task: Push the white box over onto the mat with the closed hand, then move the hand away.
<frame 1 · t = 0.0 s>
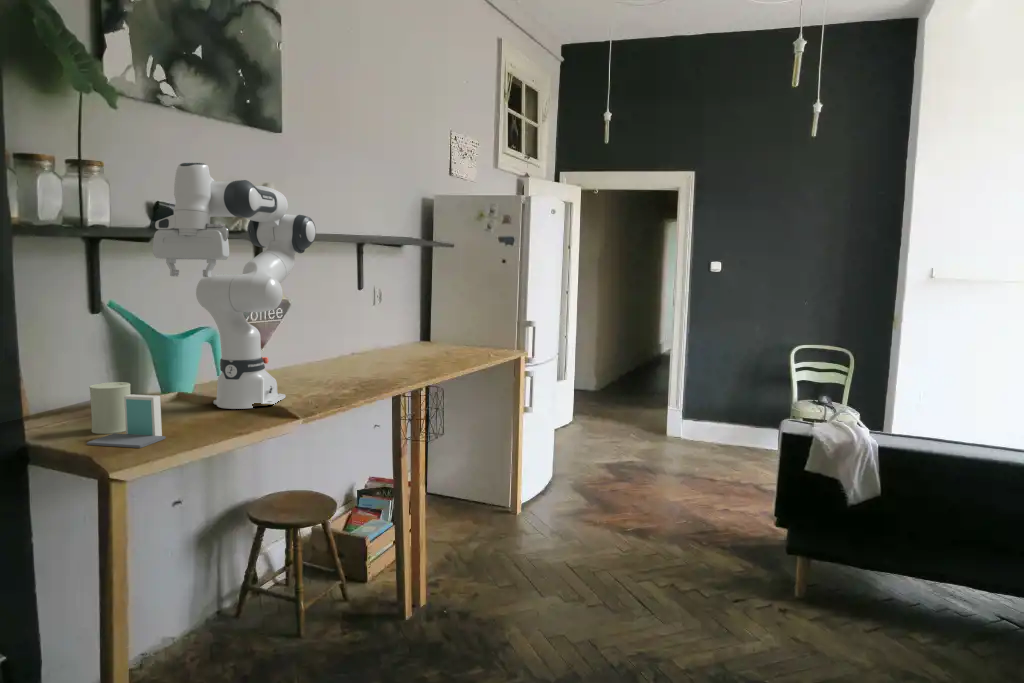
hand: (190, 276, 190), 39 cm above the table, tool pointing down, fingers open, 8 cm apart
mat: (127, 441, 172), on the table
white box: (144, 435, 178), on the table
pale green cylinder: (112, 430, 184), on the table
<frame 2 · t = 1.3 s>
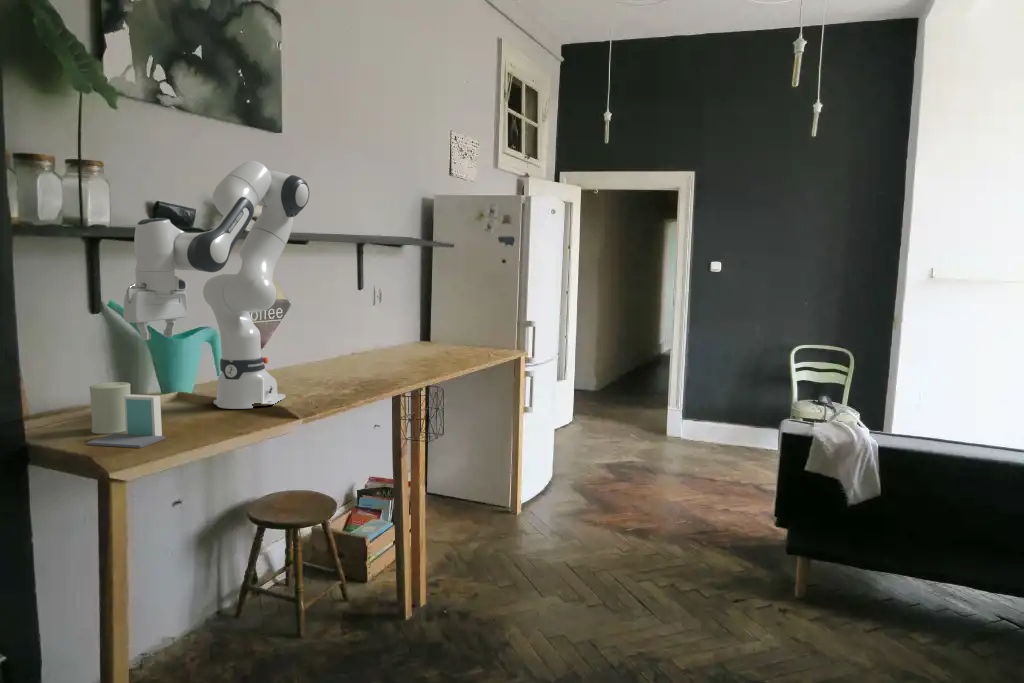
hand: (157, 338, 182), 23 cm above the table, tool pointing down, fingers open, 7 cm apart
nothing on the table moved.
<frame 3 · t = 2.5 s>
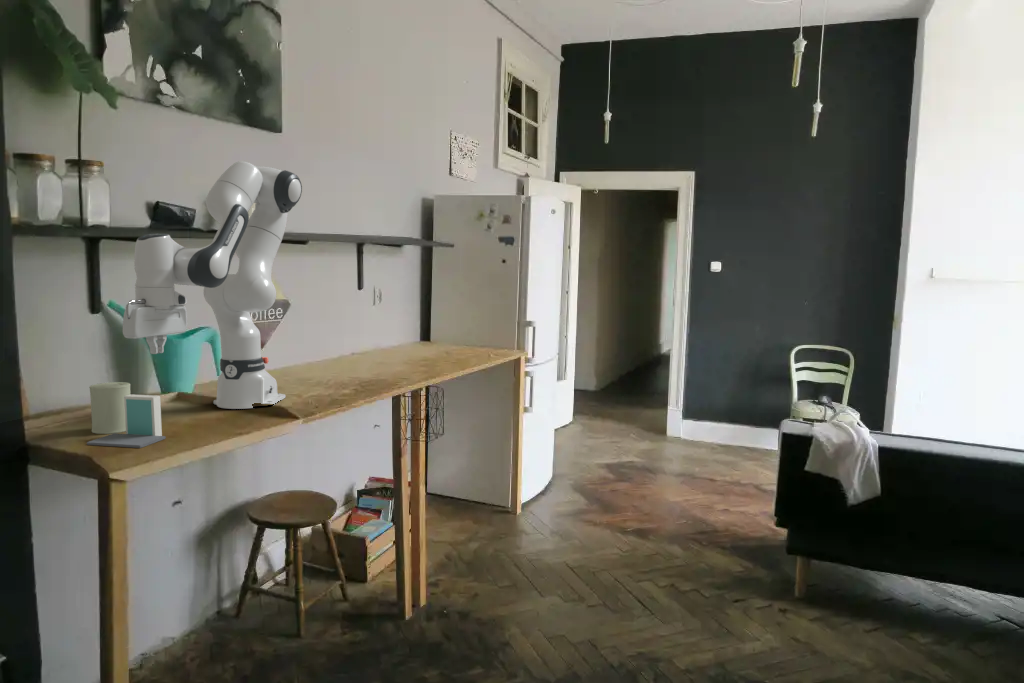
hand: (156, 353, 182), 20 cm above the table, tool pointing down, fingers closed
nothing on the table moved.
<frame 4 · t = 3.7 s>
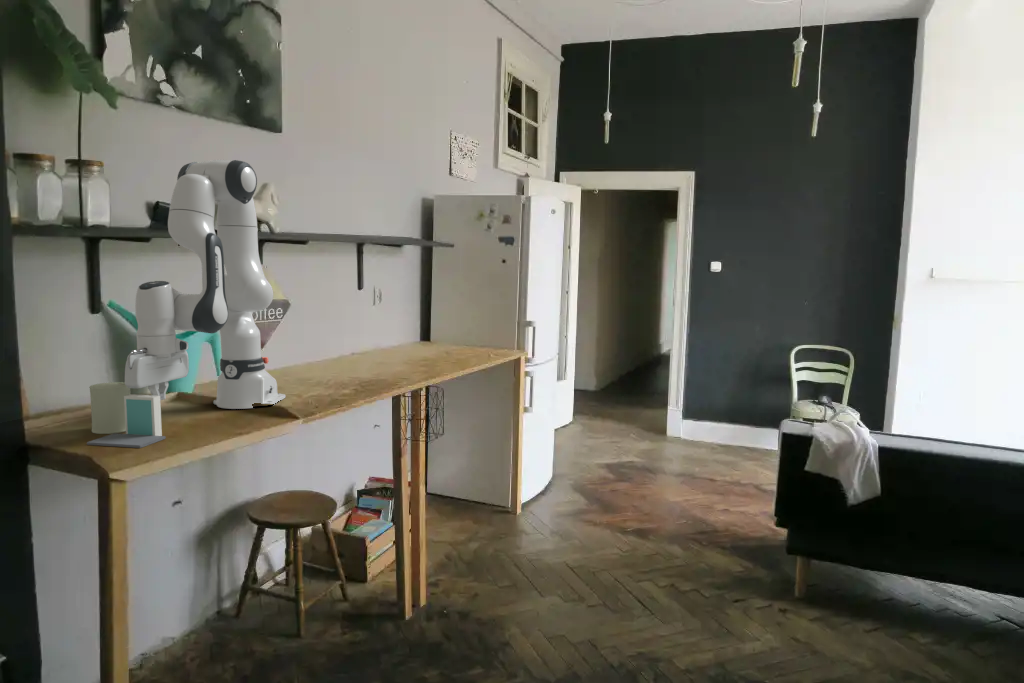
hand: (159, 400, 183), 8 cm above the table, tool pointing down, fingers closed
nothing on the table moved.
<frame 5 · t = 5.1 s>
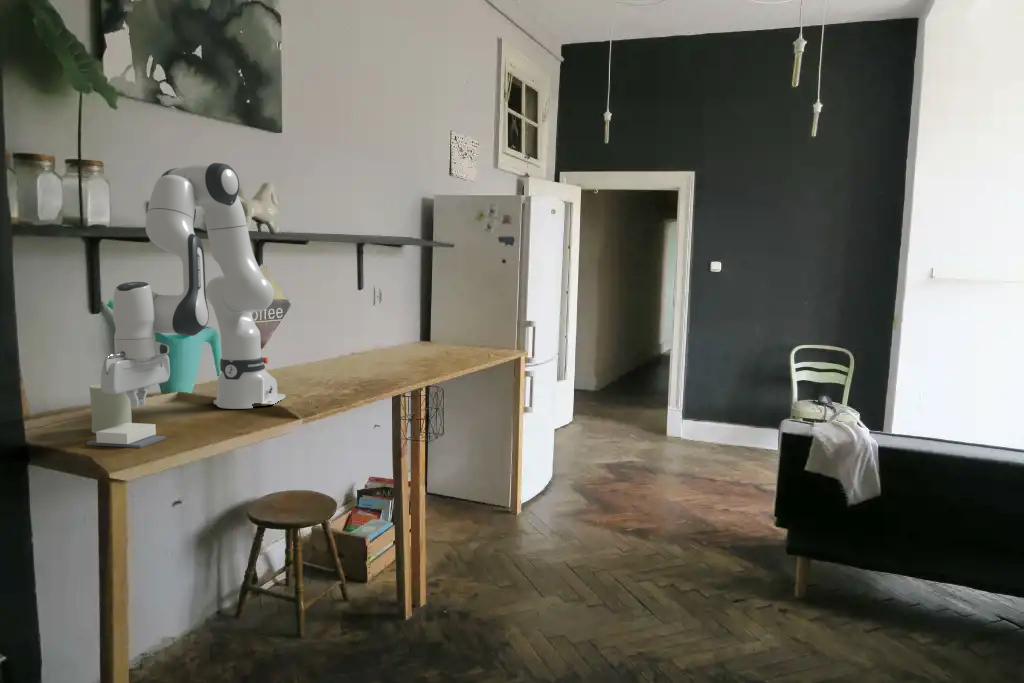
hand: (138, 406, 176), 8 cm above the table, tool pointing down, fingers closed
white box: (141, 428, 177), point 2 cm above the table, tilted 90°, touching mat
everything else where it was.
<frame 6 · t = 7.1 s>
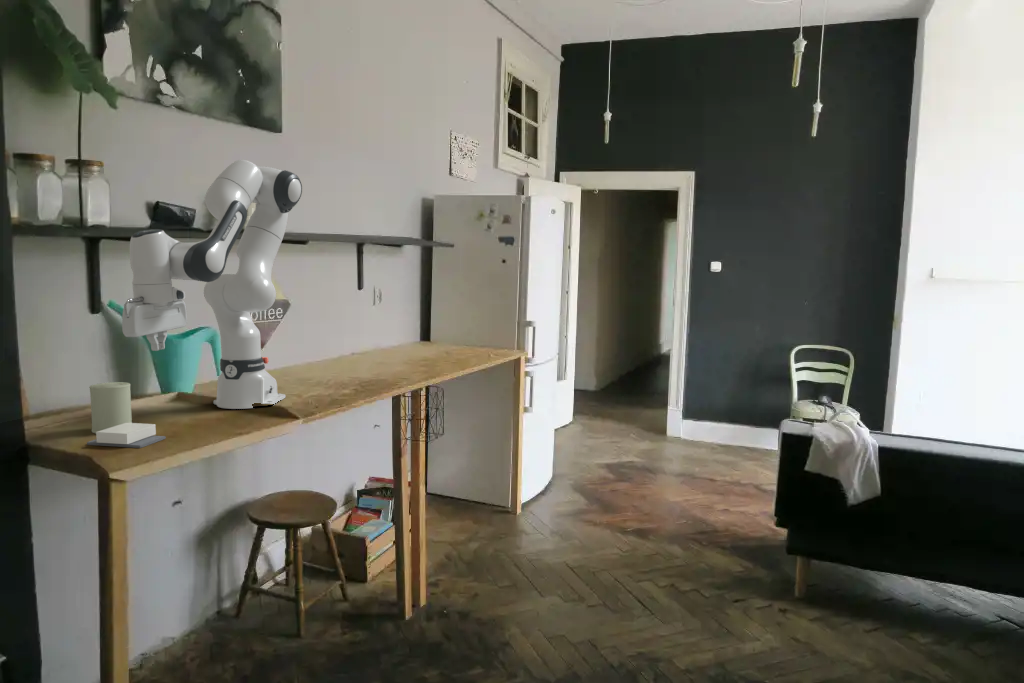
hand: (158, 349, 183), 21 cm above the table, tool pointing down, fingers closed
nothing on the table moved.
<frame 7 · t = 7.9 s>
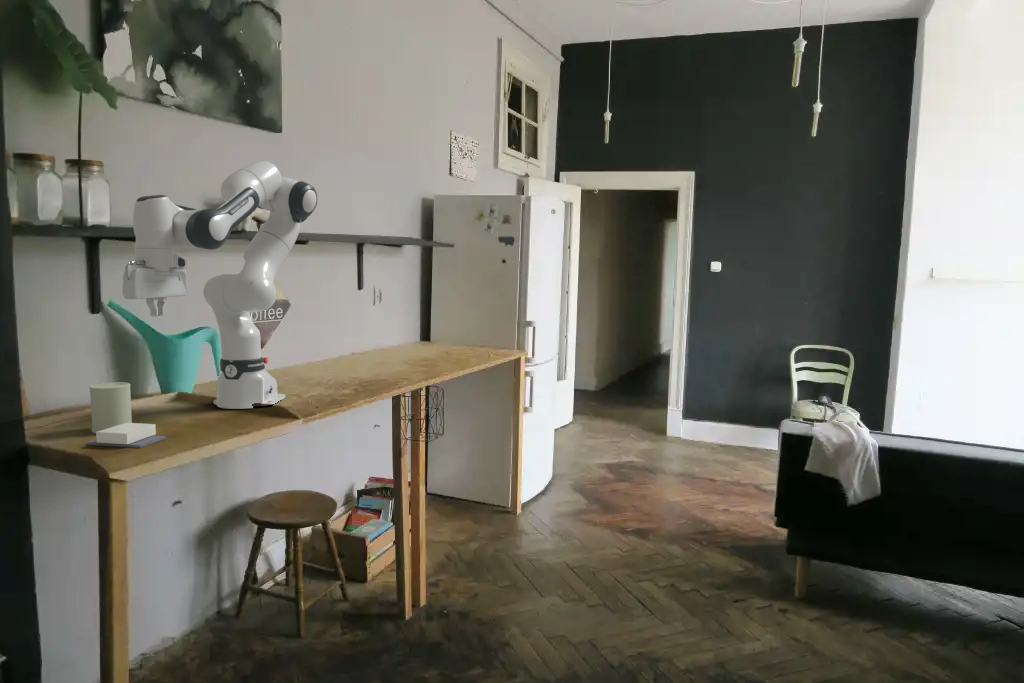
hand: (157, 315, 182), 29 cm above the table, tool pointing down, fingers closed
nothing on the table moved.
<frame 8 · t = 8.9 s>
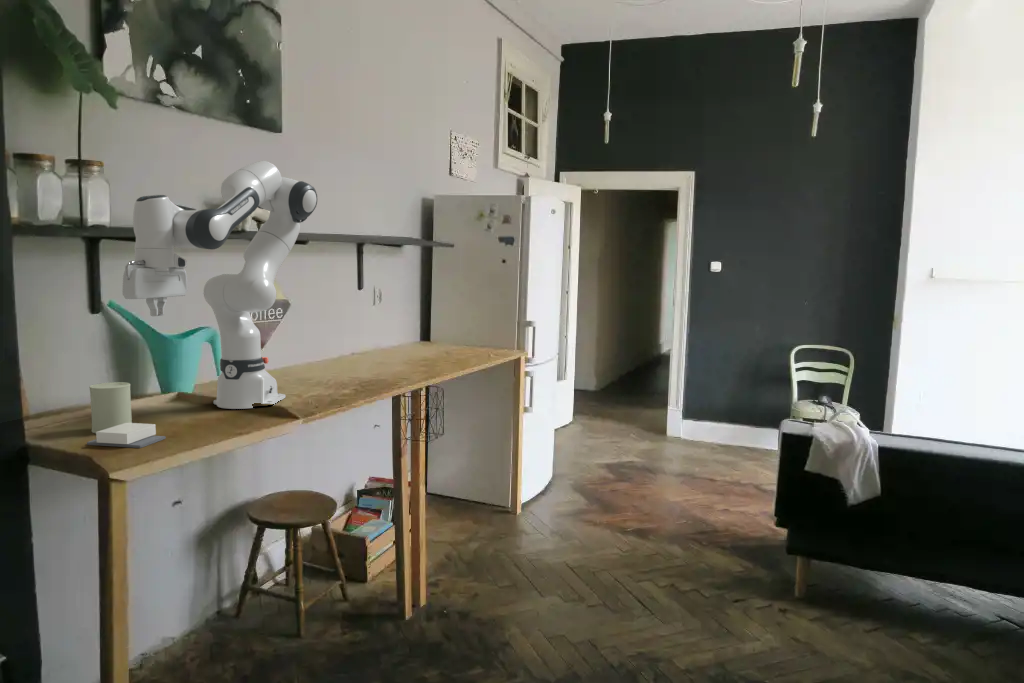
hand: (157, 315, 182), 29 cm above the table, tool pointing down, fingers closed
nothing on the table moved.
at the end: white box tilted 90°; white box inside the target area (4.1 cm from its centre), point 2.0 cm above the table; white box touching mat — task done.
